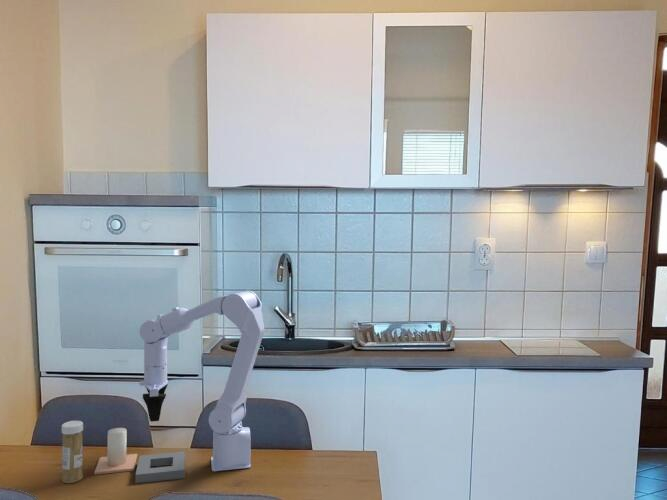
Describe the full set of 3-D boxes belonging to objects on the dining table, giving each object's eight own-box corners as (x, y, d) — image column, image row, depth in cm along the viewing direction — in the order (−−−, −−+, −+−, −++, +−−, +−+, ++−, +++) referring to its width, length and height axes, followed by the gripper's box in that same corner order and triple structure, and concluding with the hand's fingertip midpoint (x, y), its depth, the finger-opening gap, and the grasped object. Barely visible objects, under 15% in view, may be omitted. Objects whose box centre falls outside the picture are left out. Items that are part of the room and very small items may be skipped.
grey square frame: (184, 459, 136) (184, 451, 136) (184, 478, 126) (184, 469, 125) (139, 463, 133) (139, 455, 133) (135, 483, 123) (135, 474, 123)
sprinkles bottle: (84, 481, 123) (84, 424, 123) (62, 485, 121) (62, 427, 121) (81, 473, 127) (81, 418, 127) (60, 478, 125) (60, 422, 124)
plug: (127, 458, 135) (127, 427, 135) (124, 465, 131) (125, 433, 131) (108, 459, 134) (109, 428, 134) (105, 466, 130) (106, 434, 129)
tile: (137, 455, 138) (137, 453, 138) (133, 470, 129) (133, 468, 129) (100, 459, 135) (100, 457, 135) (94, 474, 127) (94, 472, 127)
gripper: (142, 359, 144) (141, 408, 144) (136, 372, 130) (136, 426, 130) (168, 357, 146) (168, 406, 146) (166, 370, 132) (166, 424, 132)
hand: (155, 415), depth 138 cm, fingers open, 7 cm apart
